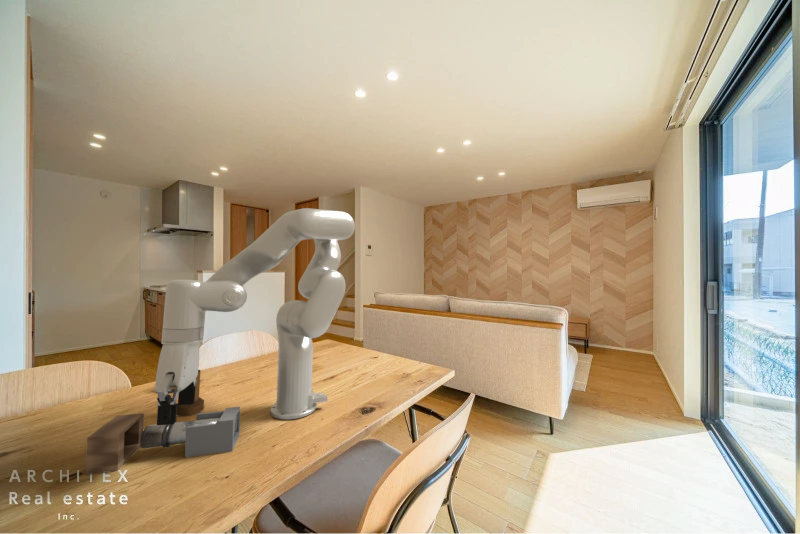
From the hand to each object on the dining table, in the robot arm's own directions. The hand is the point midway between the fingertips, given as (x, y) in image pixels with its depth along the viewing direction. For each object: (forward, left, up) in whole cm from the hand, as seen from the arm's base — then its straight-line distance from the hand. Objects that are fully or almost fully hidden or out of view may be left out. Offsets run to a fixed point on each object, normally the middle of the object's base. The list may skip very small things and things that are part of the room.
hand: (176, 413), depth 64 cm
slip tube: (-3, 0, -7) cm, 8 cm away
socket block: (+11, 0, -8) cm, 14 cm away
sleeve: (-7, 0, -8) cm, 11 cm away
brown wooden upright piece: (+4, -20, -9) cm, 23 cm away
